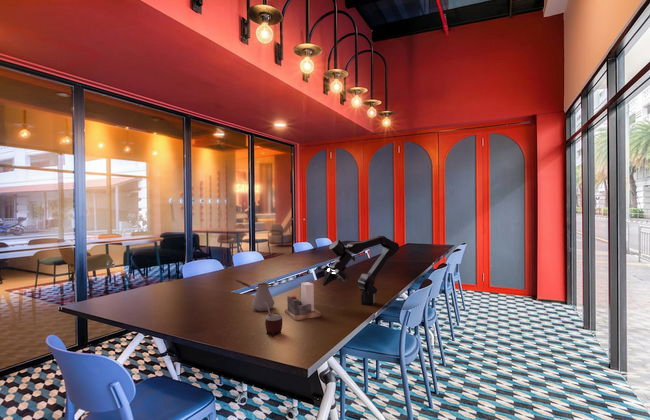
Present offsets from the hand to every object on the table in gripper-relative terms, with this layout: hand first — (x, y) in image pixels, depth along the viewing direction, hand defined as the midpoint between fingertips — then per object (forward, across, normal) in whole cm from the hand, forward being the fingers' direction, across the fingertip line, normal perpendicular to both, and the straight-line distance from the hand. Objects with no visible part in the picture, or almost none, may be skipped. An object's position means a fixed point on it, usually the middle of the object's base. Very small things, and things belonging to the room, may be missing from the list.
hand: (323, 285), depth 173 cm
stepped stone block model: (+17, 0, -1) cm, 17 cm away
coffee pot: (+30, +21, +12) cm, 39 cm away
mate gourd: (+32, -19, +14) cm, 40 cm away
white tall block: (+14, 0, -2) cm, 14 cm away
